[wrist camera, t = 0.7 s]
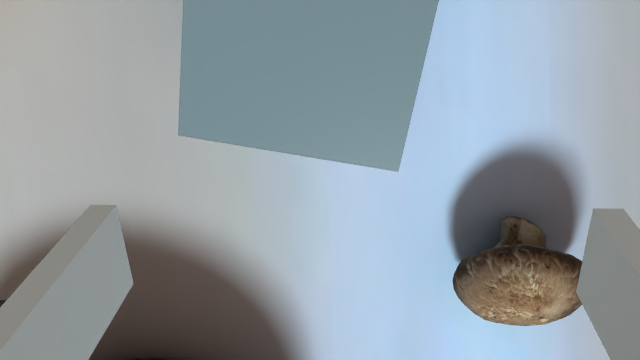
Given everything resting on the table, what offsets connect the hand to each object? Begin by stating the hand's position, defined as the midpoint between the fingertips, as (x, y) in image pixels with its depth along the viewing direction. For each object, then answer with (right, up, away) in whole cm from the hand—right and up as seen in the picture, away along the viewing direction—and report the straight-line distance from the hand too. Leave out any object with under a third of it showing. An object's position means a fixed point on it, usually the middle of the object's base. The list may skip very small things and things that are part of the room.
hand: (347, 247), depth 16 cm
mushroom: (+12, -3, +22) cm, 26 cm away
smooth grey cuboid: (-1, +12, +16) cm, 20 cm away
